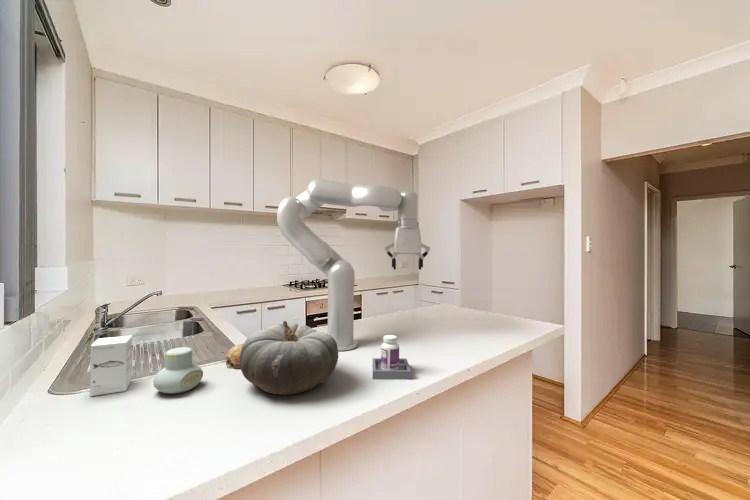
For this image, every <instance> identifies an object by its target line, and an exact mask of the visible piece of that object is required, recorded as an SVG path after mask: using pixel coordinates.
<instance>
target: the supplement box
mask: <svg viewBox="0 0 750 500" xmlns="http://www.w3.org/2000/svg"><path fill="white" fill-rule="evenodd" d="M132 343H133V335H123V336H112V337H110V336H109V337H102V338H101V337H100V338H97V339H96V340H95V341H93V342H92V344H91V345H90V369H89V370H90V374H89V376H90V381H89V382H90V383H89V389H90V390H89V396H90V397H94V396H100V395H108V394H115V393H120V392H126V391H127V390H128V388H129V385H130V384H131V381H132V358H133V357H132V351H133V350H132V349H133V348H132V345H133V344H132Z"/></svg>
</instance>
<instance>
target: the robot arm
mask: <svg viewBox="0 0 750 500" xmlns="http://www.w3.org/2000/svg"><path fill="white" fill-rule="evenodd" d="M324 204H326V205H327V204H328V205H333V206H341V207H348V208H355V207H361V206H368V207H369V206H370V207H378V209H379V210H380V211H383V212H393V211H397V220H396V221H393V226H397V227H395V230H394V231H395V232H394V236H393V237H394V239H393V243H391V244H389V245H387V246H385V247H384V250H385V252H386V254H387V255H388V256H389V257H390V258H391V268H393V270H396V269H397V259H396V257H397V256H398V255H417V256H418V257H419V258H418V270H422V268H423V267H424V259H425V257H427V256H428V254H429V253H430V251H431V247H430V246H428V245H426V244H424V243H422V237H421V229H420V227H418V193H417V192H415V191H411V190H407V191H406V190H405V191H399V190H398V189H396V188H394V187H391V186H385V185H378V184H377V185H376V184H362V183H361V184H360V183H350V182H341V181H334V180H329V179H321V178H316V179H313V180H311V181H310V182H309V183H308V185H307V187H306V189H305V190H304V191H302V192H301V193H300V194H298V195H297V196H288V197H287V196H286V197H284V198H283V199H282V200H280V203H279V205H278V208H277V212H276V220H277V221H276V222H277V225H278V228H279V230H280V232H281V234H282V236H284V238H285V240H286V241H288V242H289V243H290V244H291V245H292V246H293V247H294V248H295V249H296V250H297V251H298V252H300V254H302V256H304V257H305V258H306V259H307V260H308V262H309V263H310V264H311V265H313V266H314V267H316V268H317V269H318V270H320V272H321V273H323V275H325V276H326V277H327V332H326V333H327V334H329V335H331V336H332V337H333V338H334V339H335V341H336V343H337V347H338V352H344V351H351V350H354V349H356V348H357V347H358V341H357V340H355V339H354V331H355V330H354V326H355V325H354V315H355V314H354V310H355V306H354V303H355V302H354V301H355V300H354V299H355V295H354V294H355V281H356V279H355V278H356V277H355V269H354V267H353V266H352V264H351V263H350V262H349V261H347V260H345V259H344V258H343V257H342V256H341V255H340V254H339V253H338V252H336V250H334V249H333V248H332V247H331V246H330V245H329V243H327V242H326V241H325V240H323V239H322V238H320V237H319V236H318V235H317V234H316V233H315V232H314V231H313V230H312V229H311V228H310V227H309V226H308V225H307V224H306V223H305V222H304V219H306V218H307V217H308V216H309V215H311V214H313V213H314V212H315V211H317V210H318V209H319V208H321V207H322V206H323V205H324ZM392 248H393V252H394V253H392V252H391V251H390V249H392ZM422 248H423V249H425V251H424V252H423V253H422Z"/></svg>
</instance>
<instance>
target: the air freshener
mask: <svg viewBox="0 0 750 500" xmlns="http://www.w3.org/2000/svg"><path fill="white" fill-rule="evenodd" d="M164 365H165V366H164V367H163V368H161V370H159V371H158V372H157V373H156V374H155V376H154V378H153V381H152V383H153V387H154V388H155V390H157V391H159V392H160V393H163V394H168V395H169V394H172V395H175V394H181V393H186V392H188V391H190V390H191V389H193V388H195V387H196V386H197V385H198V384H200V383H201V381H202V379H203V377H204V371H203V368H202V367H200V366H199V365H197V364H195V363H193V349H192V348H191V347H187V346H186V347H185V346H182V347H181V346H180V347H175V348H171V349H168V350H166V352H165V363H164Z"/></svg>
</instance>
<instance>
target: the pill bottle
mask: <svg viewBox="0 0 750 500" xmlns="http://www.w3.org/2000/svg"><path fill="white" fill-rule="evenodd" d="M382 340H383V342H382V343H381V346H380V358H381V368H382V370H398V369H399V358H400V344H399V343H398V336H397V335H394V334H386V335H383V339H382Z"/></svg>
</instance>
